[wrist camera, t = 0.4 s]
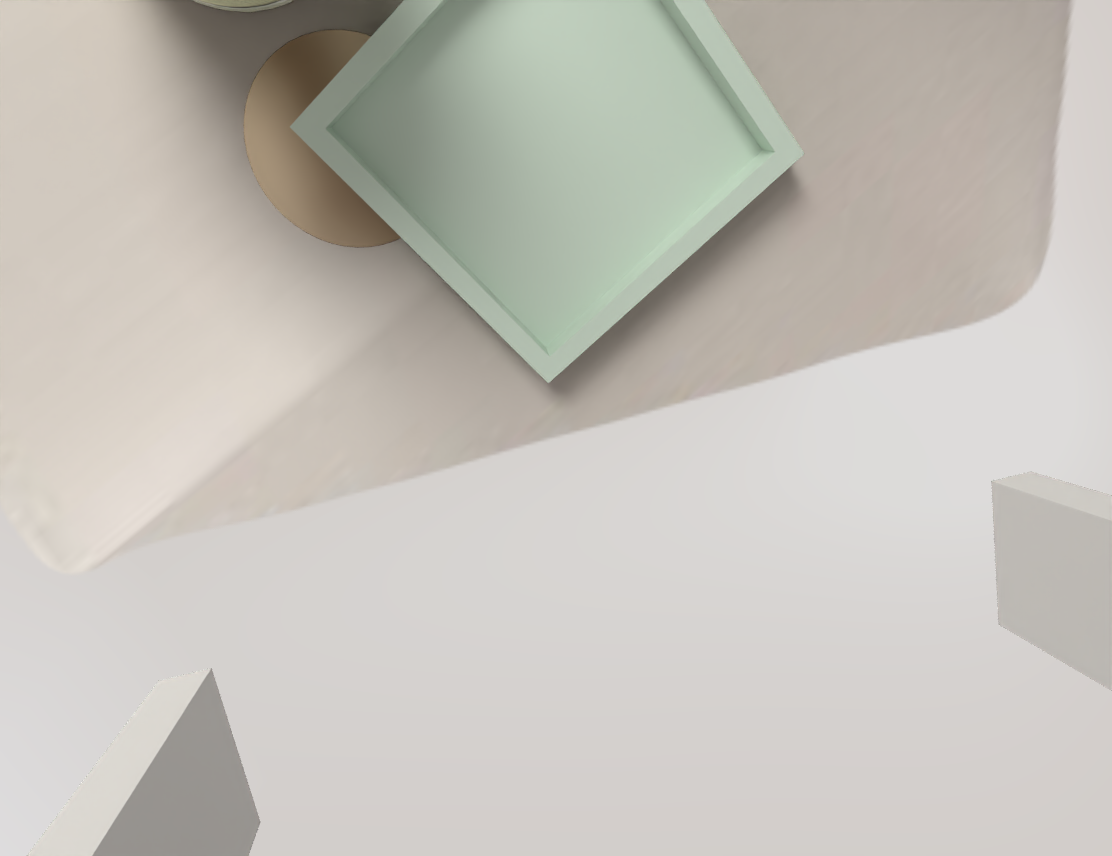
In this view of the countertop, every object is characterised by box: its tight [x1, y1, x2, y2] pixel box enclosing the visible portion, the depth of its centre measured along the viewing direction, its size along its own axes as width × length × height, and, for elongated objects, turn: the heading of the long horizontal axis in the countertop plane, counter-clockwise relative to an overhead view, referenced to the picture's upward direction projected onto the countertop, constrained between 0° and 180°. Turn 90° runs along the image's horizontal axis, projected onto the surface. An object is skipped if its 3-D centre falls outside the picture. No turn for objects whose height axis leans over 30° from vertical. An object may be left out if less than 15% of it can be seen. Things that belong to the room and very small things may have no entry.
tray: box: [290, 0, 804, 383], centre depth 31 cm, size 16×16×2 cm
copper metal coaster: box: [244, 30, 401, 247], centre depth 31 cm, size 9×9×1 cm
